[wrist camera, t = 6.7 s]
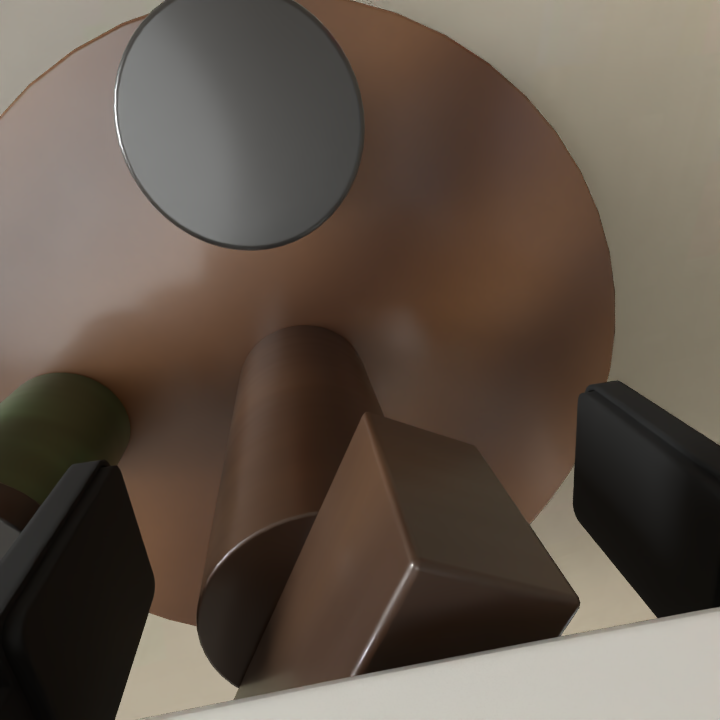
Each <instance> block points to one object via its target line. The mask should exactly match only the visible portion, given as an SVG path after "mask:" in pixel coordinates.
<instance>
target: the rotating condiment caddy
mask: <svg viewBox="0 0 720 720" xmlns="http://www.w3.org/2000/svg"><path fill="white" fill-rule="evenodd" d="M614 335H615V289H614V281H613V274H612V267H611V260H610V252H609V248H608V245H607V241H606V238H605V234H604V231H603V227H602V223H601V220H600V216H599V213H598V210H597V208H596V205H595V203H594V201H593V198H592V196H591V194H590V192H589V189H588V187H587V185H586V182H585V180H584V178H583V176H582V173H581V171H580V169H579V168H578V166H577V165H576V163H575V161H574V160H573V158H572V157H571V155H570V153H569V152H568V150H567V149H566V147H565V145H564V144H563V142H562V141H561V139H560V137H559V136H558V134H557V132H556V131H555V130H554V129H553V128H552V126H551V125H550V124H549V123H548V122H547V120H546V119H545V118H544V117H543V116H542V115H541V113H540V112H539V111H538V110H537V109H536V107H535V106H534V105H533V104H532V103H531V102H530V100H529V99H528V98H527V97H526V96H525V95H524V94H523V93H522V92H521V91H520V90H519V89H517V88H516V87H515V86H514V85H513V84H512V83H511V82H510V81H508V80H507V79H506V78H505V77H504V76H503V75H502V74H500V73H499V72H498V71H497V70H496V69H495V68H494V67H493V66H491V65H490V64H489V63H488V62H486V61H485V60H483V59H482V58H480V57H478V56H477V55H475V54H474V53H472V52H471V51H469V50H468V49H466V48H465V47H463V46H461V45H460V44H458V43H457V42H455V41H454V40H452V39H451V38H449V37H448V36H446V35H444V34H442V33H440V32H437V31H435V30H433V29H431V28H429V27H426V26H424V25H422V24H420V23H418V22H415V21H413V20H411V19H409V18H407V17H404V16H402V15H400V14H398V13H394V12H391V11H387V10H384V9H380V8H377V7H373V6H370V5H366V4H363V3H359V2H355V1H352V0H165V1H164V2H162V3H161V4H160V5H159V6H157V7H156V8H155V9H153V10H152V11H151V12H150V13H149V14H146V15H143V16H141V17H138V18H135V19H132V20H129V21H127V22H124V23H122V24H120V25H118V26H116V27H114V28H112V29H111V30H109V31H107V32H105V33H103V34H102V35H100V36H98V37H96V38H94V39H92V40H91V41H89V42H87V43H85V44H83V45H81V46H80V47H78V48H76V49H74V50H73V51H71V52H70V53H69V54H67V55H66V56H65V57H64V58H62V59H61V60H60V61H59V62H57V63H56V64H55V65H53V66H52V67H51V68H50V69H48V70H47V71H46V72H44V73H43V74H42V75H41V76H39V77H38V78H37V79H36V80H34V81H33V82H32V83H30V84H29V85H28V86H27V87H26V89H25V90H24V91H23V92H22V93H21V94H20V95H19V96H18V97H17V98H16V99H15V101H14V102H13V103H12V104H11V105H10V106H9V107H8V108H7V109H6V110H5V111H4V113H3V114H2V115H1V116H0V560H1V559H2V558H3V556H4V555H5V554H6V552H7V551H8V550H9V548H10V547H11V545H12V544H13V543H14V541H15V540H16V539H17V537H18V536H19V535H20V533H21V532H22V531H23V529H24V528H25V526H26V525H27V524H28V522H29V521H30V520H31V518H32V517H33V516H34V514H35V513H36V512H37V510H38V509H39V507H40V506H41V505H42V503H43V502H44V501H45V499H46V498H47V497H48V495H49V494H50V493H51V491H52V490H53V488H54V487H55V486H56V484H57V483H58V482H59V480H60V479H61V478H62V476H63V475H64V473H65V472H66V471H67V469H68V468H69V467H70V466H71V465H72V464H78V463H85V462H91V461H98V460H104V459H105V460H106V461H108V463H109V464H110V466H114V465H117V466H118V467H119V468H120V470H121V472H122V475H123V479H124V482H125V485H126V488H127V491H128V494H129V498H130V501H131V504H132V507H133V510H134V514H135V517H136V520H137V523H138V526H139V529H140V533H141V536H142V539H143V542H144V545H145V549H146V552H147V555H148V558H149V561H150V565H151V568H152V571H153V574H154V578H155V593H154V598H153V601H152V604H151V607H150V610H149V613H151V614H154V615H157V616H160V617H163V618H166V619H169V620H173V621H177V622H181V623H186V624H190V625H194V626H197V632H198V636H199V640H200V643H201V646H202V648H203V650H204V653H205V655H206V657H207V658H208V660H209V661H210V663H211V664H212V666H213V667H214V668H215V669H216V670H217V671H218V672H219V674H220V675H221V676H222V677H224V678H225V679H226V680H227V681H229V682H230V683H231V684H232V685H234V686H236V687H237V688H239V689H238V691H237V694H236V696H235V698H234V700H237V699H242V698H247V697H252V696H257V695H262V694H267V693H272V692H277V691H282V690H287V689H292V688H297V687H302V686H307V685H312V684H317V683H322V682H327V681H332V680H337V679H342V678H347V677H352V676H357V675H363V674H368V673H373V672H378V671H383V670H388V669H393V668H399V667H404V666H409V665H414V664H419V663H424V662H429V661H435V660H440V659H445V658H450V657H455V656H461V655H466V654H471V653H476V652H481V651H487V650H492V649H497V648H502V647H507V646H513V645H518V644H523V643H528V642H533V641H539V640H544V639H550V638H555V637H560V636H561V634H562V633H563V631H564V630H565V628H566V627H567V626H568V624H569V623H570V621H571V620H572V618H573V617H574V615H575V614H576V612H577V611H578V609H579V606H580V600H579V597H578V596H577V594H576V593H575V591H574V590H573V588H572V587H571V585H570V584H569V583H568V581H567V580H566V578H565V577H564V575H563V574H562V572H561V571H560V569H559V568H558V566H557V565H556V563H555V562H554V560H553V559H552V557H551V556H550V555H549V553H548V552H547V550H546V549H545V547H544V546H543V544H542V543H541V541H540V540H539V538H538V537H537V535H536V534H535V532H534V531H533V530H532V528H531V527H530V524H531V522H532V521H533V520H534V519H535V518H536V517H537V515H538V514H539V513H540V512H541V511H542V510H543V508H544V507H545V506H546V505H547V504H548V503H549V501H550V500H551V499H552V497H553V496H554V495H555V493H556V492H557V490H558V489H559V487H560V486H561V484H562V483H563V481H564V480H565V478H566V477H567V476H568V474H569V473H570V471H571V470H572V468H573V466H574V464H575V447H576V426H577V405H578V397H579V395H580V394H581V393H585V390H586V388H587V386H589V385H591V384H598V383H604V382H607V379H608V376H609V372H610V367H611V359H612V351H613V343H614Z"/></svg>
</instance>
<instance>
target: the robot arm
mask: <svg viewBox="0 0 720 720" xmlns="http://www.w3.org/2000/svg"><path fill="white" fill-rule="evenodd" d="M573 508H574V512H575V515H576V517H577V519H578V521H579V522H580V524H581V525H582V526H583V527H584V528H585V530H586V531H587V532H588V533H589V535H590V536H591V537H592V538H593V539H594V541H595V542H596V543H597V544H598V546H599V547H600V548H601V549H602V550H603V552H604V553H605V554H606V555H607V557H608V558H609V559H610V560H611V562H612V563H613V564H614V565H615V566H616V568H617V569H618V570H619V571H620V573H621V574H622V575H623V576H624V577H625V579H626V580H627V581H628V582H629V584H630V585H631V586H632V587H633V588H634V590H635V591H636V592H637V593H638V595H639V596H640V597H641V598H642V600H643V601H644V602H645V603H646V604H647V606H648V607H649V608H650V609H651V611H652V612H653V613H654V614H655V615H656V617H657V619H651V620H646V621H640V622H635V623H630V624H624V625H619V626H614V627H608V628H603V629H598V630H592V631H587V632H582V633H576V634H571V635H566V636H560V637H555V638H550V639H544V640H539V641H533V642H528V643H523V644H518V645H513V646H507V647H502V648H497V649H492V650H487V651H481V652H476V653H471V654H466V655H461V656H455V657H450V658H445V659H440V660H435V661H429V662H424V663H419V664H414V665H409V666H404V667H399V668H393V669H388V670H383V671H378V672H373V673H368V674H363V675H357V676H352V677H347V678H342V679H337V680H332V681H327V682H322V683H317V684H312V685H307V686H302V687H297V688H292V689H287V690H282V691H277V692H272V693H267V694H262V695H257V696H252V697H247V698H242V699H237V700H232V701H226V702H221V703H216V704H211V705H206V706H201V707H196V708H191V709H186V710H181V711H176V712H171V713H166V714H161V715H156V716H151V717H146V718H142V719H137V720H720V445H718V444H716V443H715V442H713V441H712V440H710V439H709V438H707V437H706V436H704V435H703V434H701V433H699V432H698V431H696V430H695V429H693V428H692V427H690V426H689V425H687V424H686V423H684V422H682V421H681V420H679V419H678V418H676V417H675V416H673V415H672V414H670V413H669V412H667V411H665V410H664V409H662V408H661V407H659V406H658V405H656V404H655V403H653V402H652V401H650V400H648V399H647V398H645V397H644V396H642V395H641V394H639V393H638V392H636V391H635V390H633V389H631V388H630V387H628V386H627V385H625V384H624V383H622V382H620V381H618V380H617V381H611V382H604V383H598V384H591V385H589V386H587V388H586V390H585V393H581V394H580V395H579V397H578V405H577V426H576V447H575V468H574V489H573ZM154 593H155V578H154V574H153V571H152V568H151V565H150V561H149V558H148V555H147V552H146V549H145V545H144V542H143V539H142V536H141V533H140V529H139V526H138V523H137V520H136V517H135V514H134V510H133V507H132V504H131V501H130V498H129V494H128V491H127V488H126V485H125V482H124V479H123V475H122V472H121V470H120V468H119V467H118V466H117V465H114V466H110V464H109V463H108V461H106V460H105V459H104V460H98V461H91V462H85V463H78V464H72V465H71V466H70V467H69V468H68V469H67V471H66V472H65V473H64V475H63V476H62V478H61V479H60V480H59V482H58V483H57V484H56V486H55V487H54V488H53V490H52V491H51V493H50V494H49V495H48V497H47V498H46V499H45V501H44V502H43V503H42V505H41V506H40V507H39V509H38V510H37V512H36V513H35V514H34V516H33V517H32V518H31V520H30V521H29V522H28V524H27V525H26V526H25V528H24V529H23V531H22V532H21V533H20V535H19V536H18V537H17V539H16V540H15V541H14V543H13V544H12V545H11V547H10V548H9V550H8V551H7V552H6V554H5V555H4V556H3V558H2V559H1V560H0V720H115V717H116V714H117V711H118V708H119V705H120V702H121V698H122V695H123V692H124V689H125V686H126V683H127V680H128V676H129V673H130V670H131V667H132V664H133V661H134V657H135V654H136V651H137V648H138V645H139V642H140V639H141V635H142V632H143V629H144V626H145V623H146V620H147V616H148V613H149V610H150V607H151V604H152V601H153V598H154Z"/></svg>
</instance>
